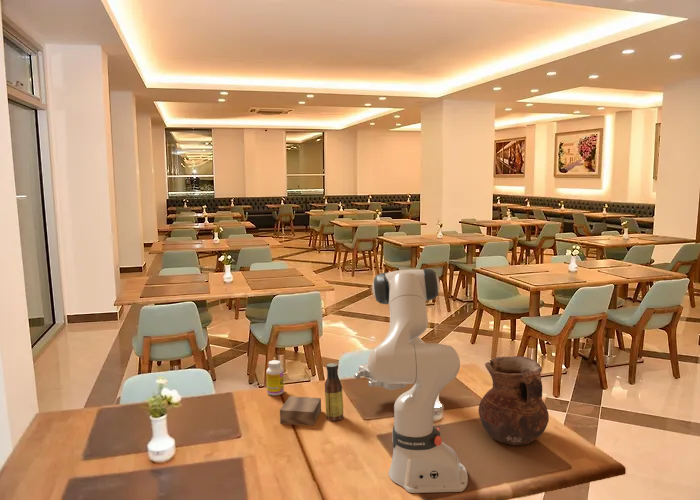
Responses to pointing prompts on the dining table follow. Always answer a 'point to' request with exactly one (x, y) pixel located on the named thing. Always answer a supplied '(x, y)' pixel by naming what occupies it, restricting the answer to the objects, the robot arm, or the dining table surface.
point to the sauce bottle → (333, 394)
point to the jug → (514, 401)
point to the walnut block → (300, 411)
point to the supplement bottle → (275, 378)
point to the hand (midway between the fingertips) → (362, 380)
